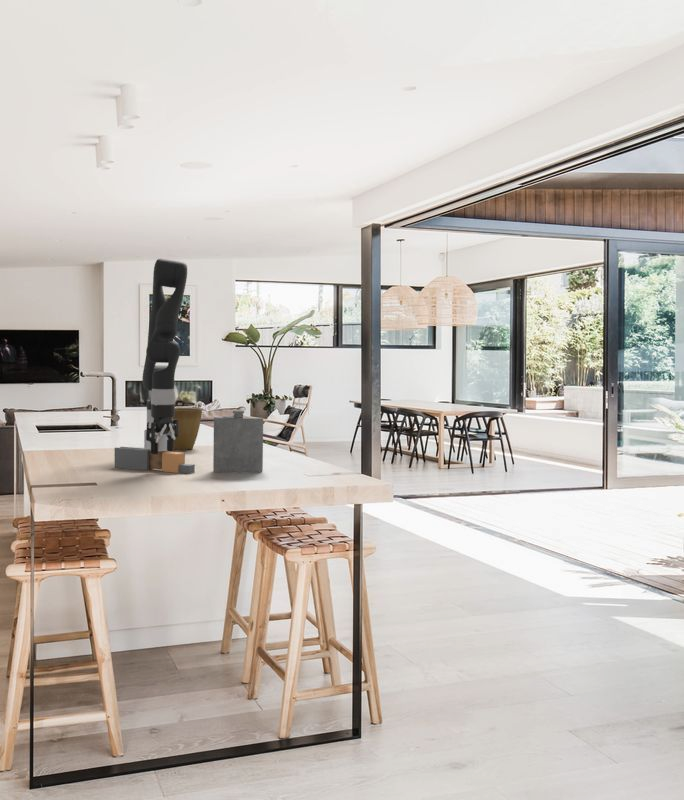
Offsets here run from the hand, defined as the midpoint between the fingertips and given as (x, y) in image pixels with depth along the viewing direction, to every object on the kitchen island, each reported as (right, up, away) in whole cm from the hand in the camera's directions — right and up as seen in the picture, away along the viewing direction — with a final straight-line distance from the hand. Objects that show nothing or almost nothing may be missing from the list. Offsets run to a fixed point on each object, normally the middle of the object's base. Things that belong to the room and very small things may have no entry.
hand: (162, 452), depth 278 cm
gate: (-5, -6, +3) cm, 8 cm away
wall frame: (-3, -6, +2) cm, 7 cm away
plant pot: (-5, -3, +61) cm, 61 cm away
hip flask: (+24, -6, 0) cm, 25 cm away
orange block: (+4, -6, -2) cm, 7 cm away
